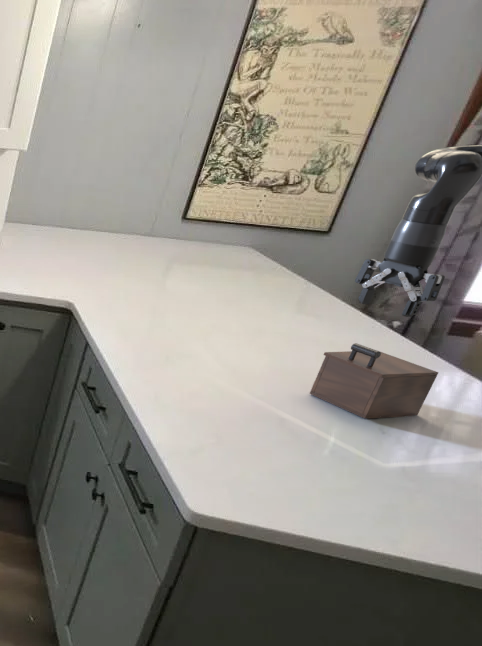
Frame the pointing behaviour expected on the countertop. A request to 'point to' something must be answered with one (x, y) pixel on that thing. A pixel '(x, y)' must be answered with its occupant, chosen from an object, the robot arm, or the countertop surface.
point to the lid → (379, 363)
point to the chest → (370, 391)
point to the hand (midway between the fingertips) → (384, 309)
